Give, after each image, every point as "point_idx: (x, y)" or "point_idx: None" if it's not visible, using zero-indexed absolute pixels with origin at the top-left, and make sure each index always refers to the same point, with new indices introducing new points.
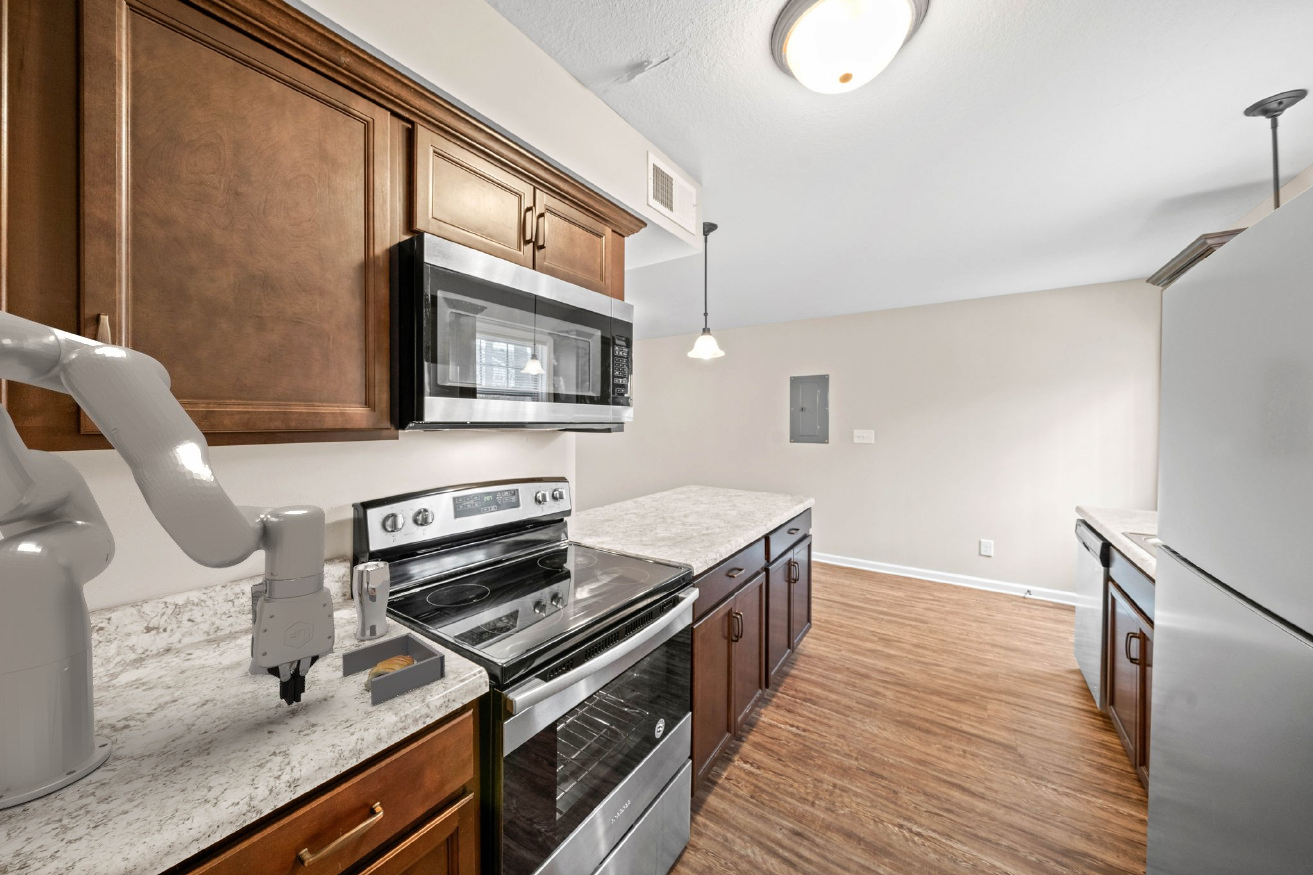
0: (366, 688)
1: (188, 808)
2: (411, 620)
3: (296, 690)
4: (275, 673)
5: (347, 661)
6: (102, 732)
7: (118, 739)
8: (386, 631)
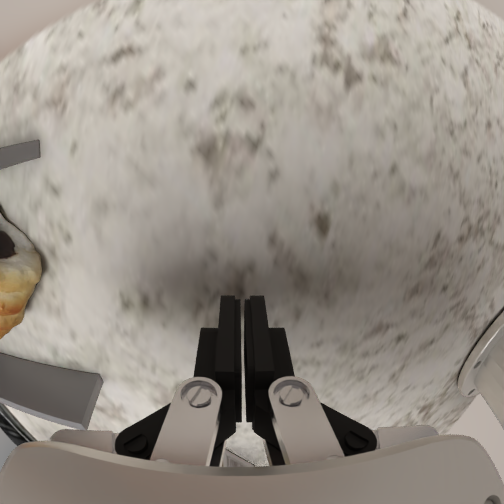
0: (39, 260)
1: (486, 53)
2: (25, 436)
3: (236, 330)
4: (338, 423)
5: (80, 403)
6: (437, 406)
7: (445, 383)
8: (49, 440)
